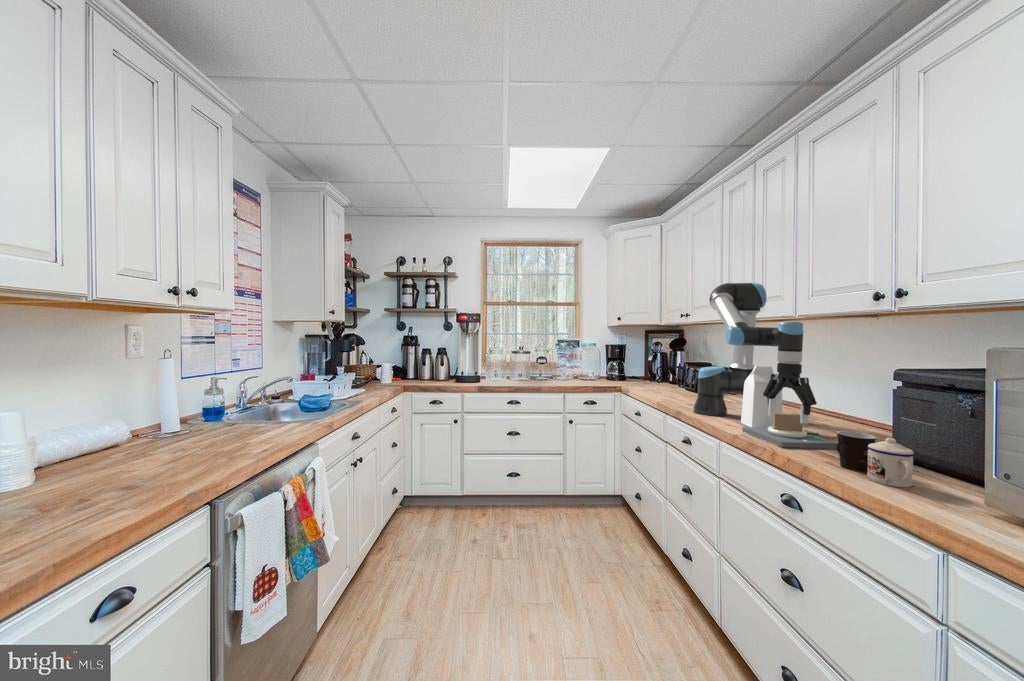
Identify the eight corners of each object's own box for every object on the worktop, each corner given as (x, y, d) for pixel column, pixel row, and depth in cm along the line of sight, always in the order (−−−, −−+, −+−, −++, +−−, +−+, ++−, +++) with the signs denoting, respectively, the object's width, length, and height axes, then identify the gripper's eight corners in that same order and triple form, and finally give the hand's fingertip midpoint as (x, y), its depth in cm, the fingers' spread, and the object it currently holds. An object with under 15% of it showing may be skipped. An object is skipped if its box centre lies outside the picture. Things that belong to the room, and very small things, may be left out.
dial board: (742, 431, 157) (742, 426, 157) (791, 432, 157) (791, 427, 157) (781, 447, 135) (781, 441, 135) (837, 448, 135) (838, 442, 135)
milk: (751, 428, 164) (753, 366, 163) (740, 422, 175) (742, 364, 175) (783, 430, 161) (785, 367, 161) (770, 424, 173) (772, 365, 172)
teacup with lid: (858, 474, 110) (859, 433, 110) (896, 477, 108) (898, 435, 108) (888, 490, 98) (890, 444, 98) (932, 494, 96) (934, 448, 96)
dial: (774, 436, 142) (775, 415, 142) (762, 428, 153) (763, 410, 153) (827, 440, 138) (827, 419, 138) (810, 432, 149) (811, 413, 149)
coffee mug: (858, 464, 119) (860, 431, 119) (882, 474, 110) (884, 439, 110) (818, 462, 120) (819, 429, 120) (838, 471, 111) (839, 437, 111)
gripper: (830, 365, 134) (828, 427, 134) (769, 360, 159) (768, 412, 159) (812, 365, 133) (810, 427, 133) (754, 360, 157) (752, 412, 158)
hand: (787, 419), depth 146 cm, fingers open, 13 cm apart
